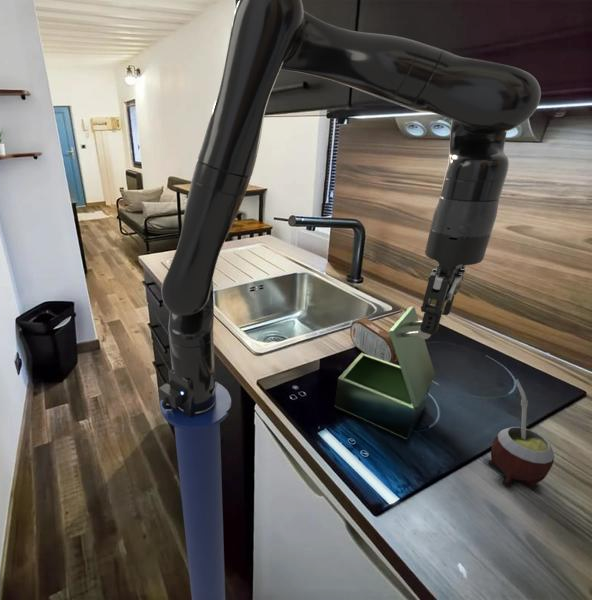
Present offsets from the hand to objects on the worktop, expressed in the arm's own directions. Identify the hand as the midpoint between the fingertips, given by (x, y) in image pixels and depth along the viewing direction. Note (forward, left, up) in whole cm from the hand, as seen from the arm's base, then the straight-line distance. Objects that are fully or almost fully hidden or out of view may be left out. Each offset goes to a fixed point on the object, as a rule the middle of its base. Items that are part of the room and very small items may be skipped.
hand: (434, 322), depth 61 cm
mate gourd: (-2, -15, -22) cm, 27 cm away
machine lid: (0, +2, -7) cm, 8 cm away
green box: (0, +6, -22) cm, 23 cm away
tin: (+18, +14, -22) cm, 32 cm away
